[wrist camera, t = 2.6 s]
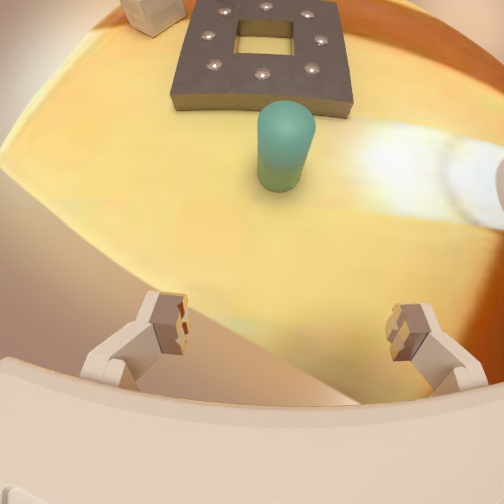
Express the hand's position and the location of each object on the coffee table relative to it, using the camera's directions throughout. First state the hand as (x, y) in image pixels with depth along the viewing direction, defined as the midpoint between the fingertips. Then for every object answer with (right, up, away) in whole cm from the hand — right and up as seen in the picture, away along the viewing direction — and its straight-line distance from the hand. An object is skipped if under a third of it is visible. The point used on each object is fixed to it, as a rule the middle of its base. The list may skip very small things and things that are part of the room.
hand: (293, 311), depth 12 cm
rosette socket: (0, +26, +20) cm, 32 cm away
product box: (-15, +34, +21) cm, 43 cm away
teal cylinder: (+1, +10, +17) cm, 20 cm away
